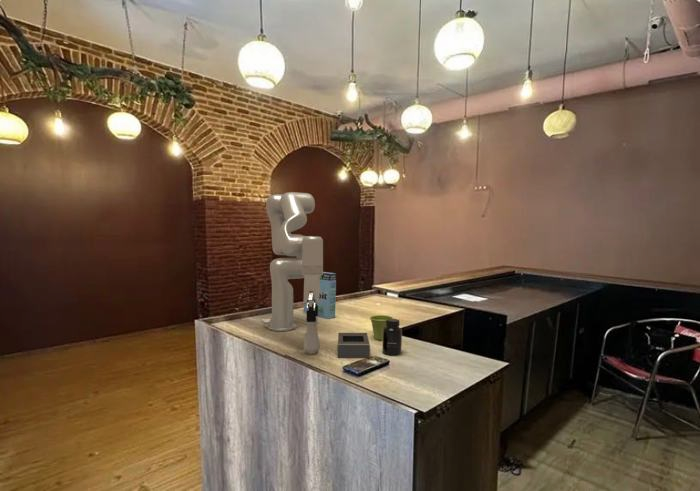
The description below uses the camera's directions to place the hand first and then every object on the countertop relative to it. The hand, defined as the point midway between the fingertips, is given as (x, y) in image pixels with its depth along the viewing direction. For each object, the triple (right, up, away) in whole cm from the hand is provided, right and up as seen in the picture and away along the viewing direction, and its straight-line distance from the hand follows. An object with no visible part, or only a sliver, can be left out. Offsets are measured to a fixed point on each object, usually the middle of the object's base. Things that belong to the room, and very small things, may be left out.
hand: (312, 318), depth 130 cm
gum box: (-3, -11, +61) cm, 62 cm away
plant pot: (+26, -12, +19) cm, 35 cm away
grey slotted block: (+15, -12, +3) cm, 19 cm away
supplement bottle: (+29, -13, +2) cm, 31 cm away
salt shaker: (0, -13, +1) cm, 13 cm away
